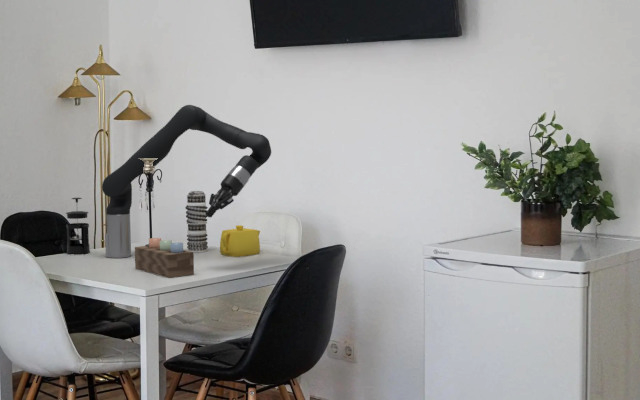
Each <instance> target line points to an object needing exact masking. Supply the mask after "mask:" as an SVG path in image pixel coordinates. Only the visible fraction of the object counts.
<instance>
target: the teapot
mask: <svg viewBox="0 0 640 400" xmlns="http://www.w3.org/2000/svg"><path fill="white" fill-rule="evenodd" d="M260 232H261V230H257V229H254V228H245V227H244V225H242V224H241V225H235V228H231V229H225V230H222V231H221V233H220V235H221V236H220V241H219V252H220V255H222V256H225V257H234V258H241V257H250V256H255V255H260V250H261V243H260V237H259V236H260Z"/></svg>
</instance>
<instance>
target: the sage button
mask: <svg viewBox="0 0 640 400" xmlns="http://www.w3.org/2000/svg"><path fill="white" fill-rule="evenodd" d="M171 243H173V241H172V240H171V239H163V240H162V239H161V241H160V250H162V251H166V250H171Z"/></svg>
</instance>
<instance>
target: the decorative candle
mask: <svg viewBox="0 0 640 400" xmlns="http://www.w3.org/2000/svg"><path fill="white" fill-rule="evenodd" d="M186 196H187V197H186V200H187V201H186V206H185V210H186V211H185V213H186V215H185V217H186V218H187V219H186V220H185V221H186V224H187V234H186V237H187V239H186V240H187V242H186V244H187V246H186V248H187V249H186V251H191V252H193V253H205V252H208V248H209V247H208V239H209V238H208V234H207V230H208V229H207V224H208V219H207V218H208V217H207V215H206V214H205V213H206V212H207V211H208V209H209V207H208V206H207V201H206V194H205V192H204V191H202V190H201V191H200V190H194V191H193V190H191V191H189V192H188V194H187V195H186Z"/></svg>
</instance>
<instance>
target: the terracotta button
mask: <svg viewBox="0 0 640 400" xmlns="http://www.w3.org/2000/svg"><path fill="white" fill-rule="evenodd" d="M160 241H162V237H161V238H160V237H152V238H149V239H148V246H149V248H160Z"/></svg>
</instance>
